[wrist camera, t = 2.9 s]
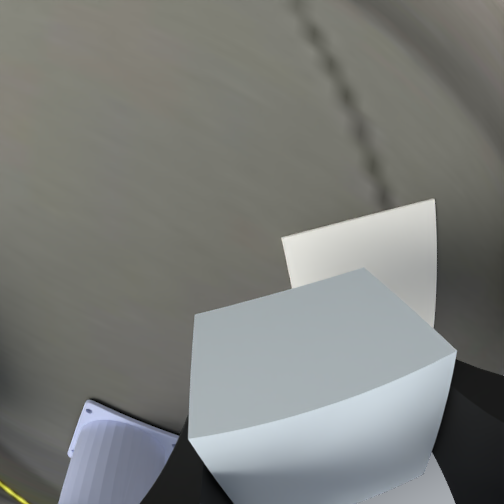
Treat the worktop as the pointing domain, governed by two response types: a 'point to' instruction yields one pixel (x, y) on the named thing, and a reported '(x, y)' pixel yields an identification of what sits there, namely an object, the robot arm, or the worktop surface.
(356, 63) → the worktop surface
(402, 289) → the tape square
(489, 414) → the robot arm
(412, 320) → the white box
